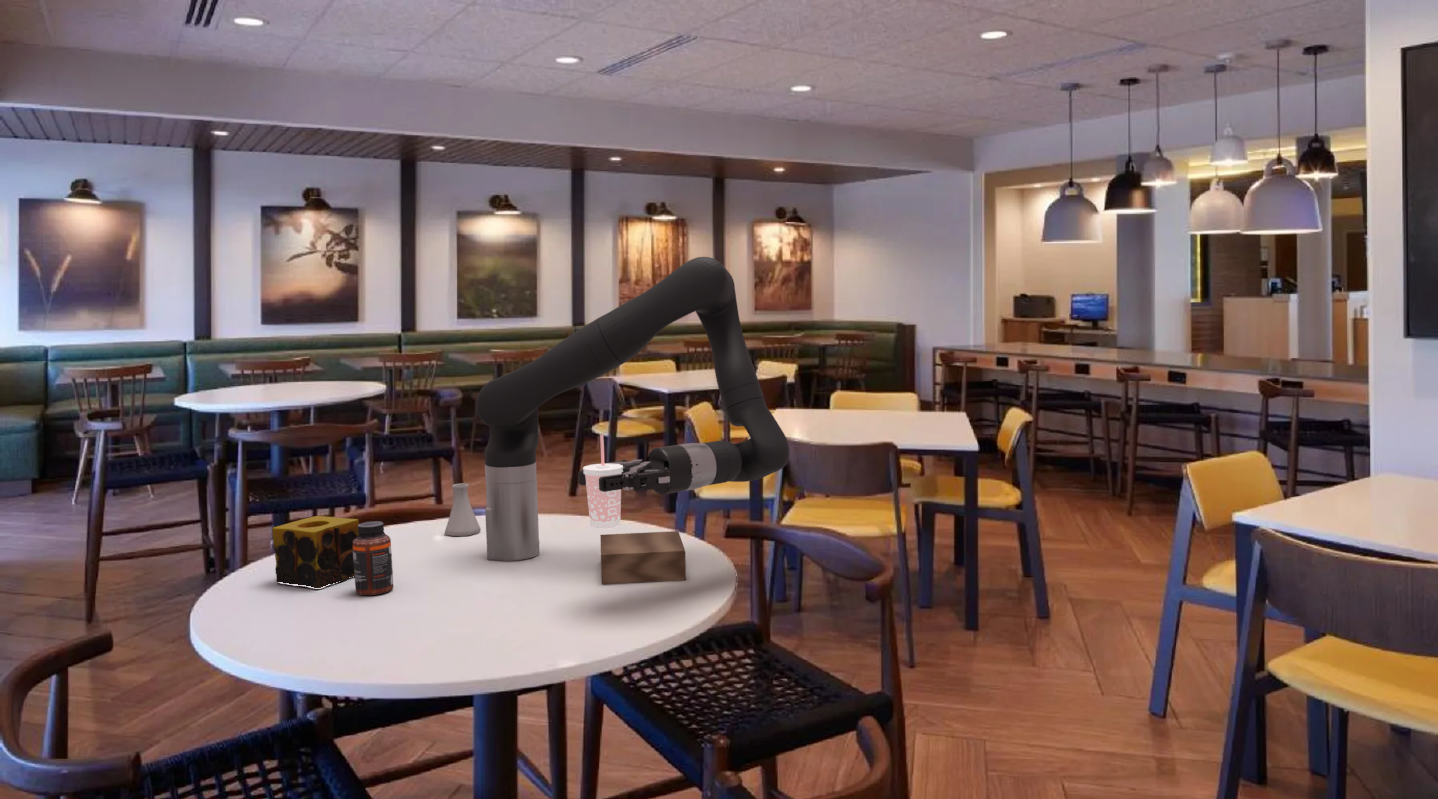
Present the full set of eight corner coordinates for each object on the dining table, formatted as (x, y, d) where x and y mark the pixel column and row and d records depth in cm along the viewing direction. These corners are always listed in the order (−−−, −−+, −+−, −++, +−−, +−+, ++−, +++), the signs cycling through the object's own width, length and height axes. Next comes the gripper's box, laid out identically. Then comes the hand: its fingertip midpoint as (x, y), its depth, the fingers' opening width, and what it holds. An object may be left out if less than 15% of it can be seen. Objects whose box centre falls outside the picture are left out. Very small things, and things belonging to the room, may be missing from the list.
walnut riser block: (601, 584, 164) (600, 554, 163) (601, 562, 178) (600, 534, 177) (685, 579, 166) (685, 550, 165) (679, 558, 179) (678, 531, 179)
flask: (471, 537, 198) (469, 488, 197) (437, 536, 199) (435, 487, 198) (486, 529, 205) (484, 481, 204) (454, 528, 206) (452, 481, 205)
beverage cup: (591, 531, 148) (587, 438, 147) (580, 522, 154) (576, 433, 152) (630, 526, 150) (627, 435, 149) (618, 518, 156) (615, 430, 154)
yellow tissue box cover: (364, 575, 172) (361, 519, 171) (318, 591, 163) (315, 532, 162) (321, 569, 177) (318, 514, 176) (274, 584, 168) (270, 526, 167)
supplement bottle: (401, 587, 164) (397, 520, 163) (378, 598, 159) (374, 528, 158) (371, 584, 166) (367, 518, 165) (347, 595, 161) (343, 526, 160)
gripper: (656, 439, 165) (566, 451, 155) (706, 450, 153) (612, 463, 144) (658, 484, 166) (568, 498, 156) (707, 497, 154) (614, 513, 144)
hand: (589, 481), depth 150 cm, fingers closed on beverage cup, 6 cm apart
